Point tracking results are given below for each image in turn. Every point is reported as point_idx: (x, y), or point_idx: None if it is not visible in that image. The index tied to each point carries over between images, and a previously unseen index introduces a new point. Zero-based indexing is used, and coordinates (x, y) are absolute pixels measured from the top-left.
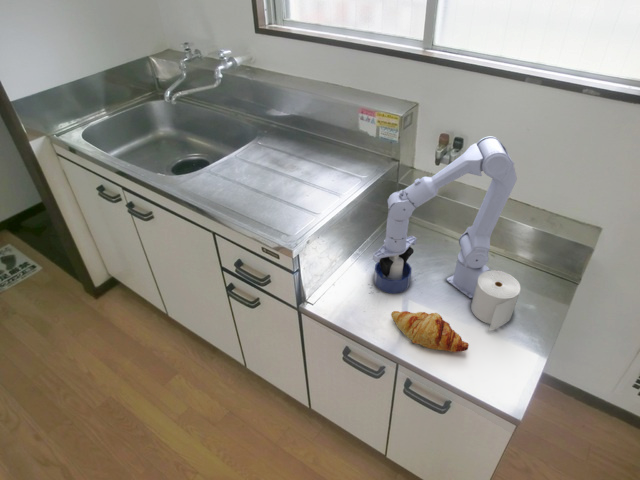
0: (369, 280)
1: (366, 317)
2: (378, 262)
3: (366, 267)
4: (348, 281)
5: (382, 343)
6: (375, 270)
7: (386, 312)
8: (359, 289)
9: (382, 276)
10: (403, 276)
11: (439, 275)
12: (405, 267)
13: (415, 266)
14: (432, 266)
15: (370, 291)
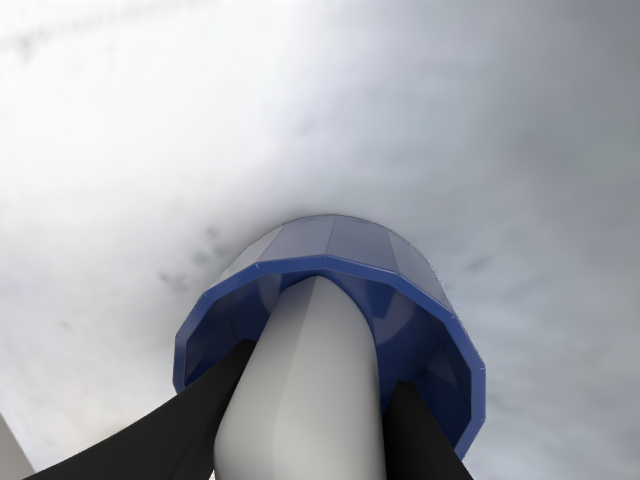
0: (240, 214)
1: (53, 350)
2: (300, 269)
3: (330, 108)
4: (127, 109)
5: (34, 447)
6: (194, 308)
7: (143, 397)
8: (138, 216)
9: (279, 299)
10: (400, 363)
11: (539, 476)
12: (443, 401)
13: (549, 360)
14: (604, 429)
15: (178, 273)
